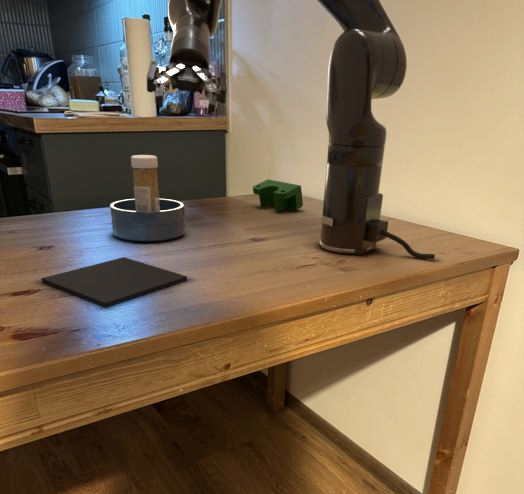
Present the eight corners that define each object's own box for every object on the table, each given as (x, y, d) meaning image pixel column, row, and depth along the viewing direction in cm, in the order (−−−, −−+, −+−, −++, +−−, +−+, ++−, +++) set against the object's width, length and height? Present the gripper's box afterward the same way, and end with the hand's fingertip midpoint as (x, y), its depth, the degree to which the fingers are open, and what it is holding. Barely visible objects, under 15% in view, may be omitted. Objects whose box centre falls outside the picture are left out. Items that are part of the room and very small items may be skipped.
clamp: (261, 224, 123) (246, 189, 121) (278, 215, 126) (263, 181, 124) (291, 213, 114) (275, 175, 111) (308, 204, 117) (293, 167, 114)
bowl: (199, 234, 95) (198, 205, 93) (146, 247, 86) (143, 215, 83) (152, 223, 102) (150, 195, 100) (98, 234, 93) (95, 204, 90)
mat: (187, 280, 71) (187, 276, 71) (105, 307, 61) (105, 303, 61) (124, 260, 79) (123, 257, 78) (42, 282, 68) (41, 278, 68)
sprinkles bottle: (166, 232, 94) (162, 156, 88) (147, 236, 91) (141, 157, 85) (151, 227, 97) (146, 153, 90) (131, 231, 93) (125, 155, 87)
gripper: (152, 28, 91) (143, 78, 83) (229, 42, 93) (228, 92, 85) (152, 69, 97) (144, 119, 89) (224, 81, 100) (223, 131, 91)
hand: (185, 106), depth 87 cm, fingers open, 8 cm apart
